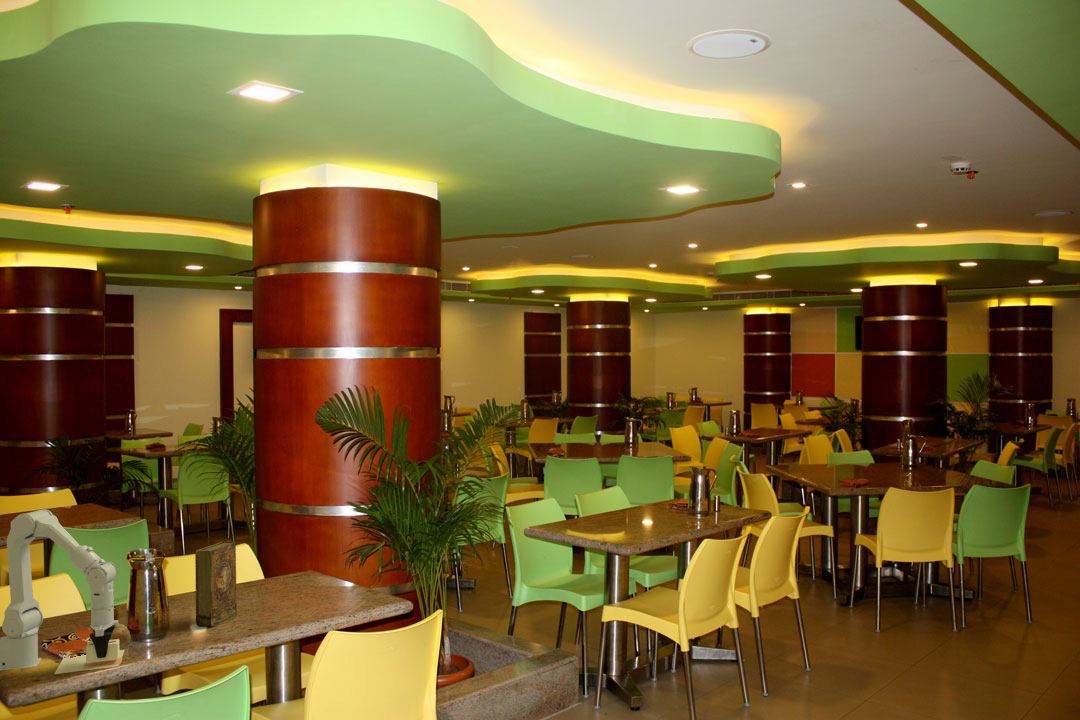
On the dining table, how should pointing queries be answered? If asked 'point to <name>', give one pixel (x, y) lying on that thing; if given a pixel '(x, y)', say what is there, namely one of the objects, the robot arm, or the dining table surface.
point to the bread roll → (121, 633)
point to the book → (215, 584)
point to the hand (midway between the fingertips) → (102, 655)
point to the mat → (86, 664)
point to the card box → (111, 652)
